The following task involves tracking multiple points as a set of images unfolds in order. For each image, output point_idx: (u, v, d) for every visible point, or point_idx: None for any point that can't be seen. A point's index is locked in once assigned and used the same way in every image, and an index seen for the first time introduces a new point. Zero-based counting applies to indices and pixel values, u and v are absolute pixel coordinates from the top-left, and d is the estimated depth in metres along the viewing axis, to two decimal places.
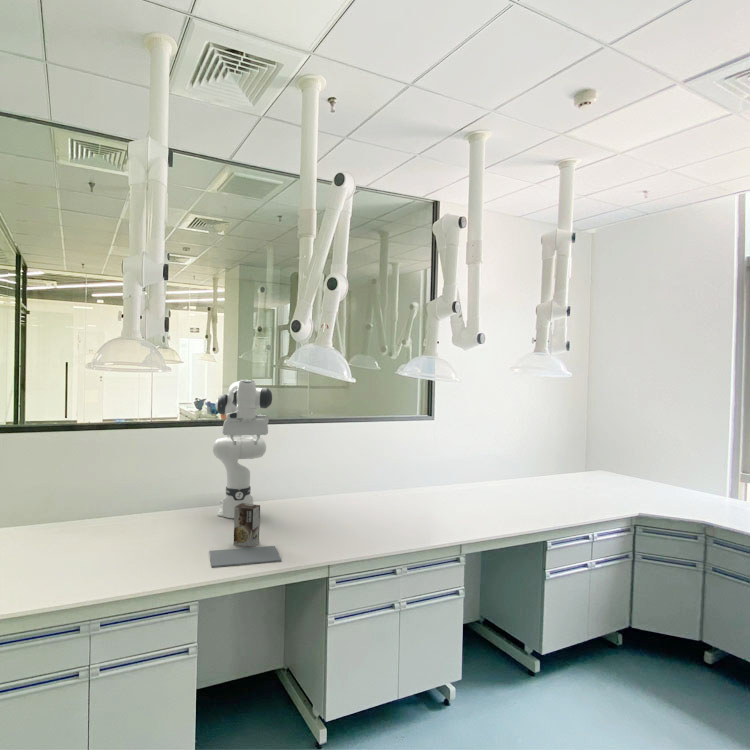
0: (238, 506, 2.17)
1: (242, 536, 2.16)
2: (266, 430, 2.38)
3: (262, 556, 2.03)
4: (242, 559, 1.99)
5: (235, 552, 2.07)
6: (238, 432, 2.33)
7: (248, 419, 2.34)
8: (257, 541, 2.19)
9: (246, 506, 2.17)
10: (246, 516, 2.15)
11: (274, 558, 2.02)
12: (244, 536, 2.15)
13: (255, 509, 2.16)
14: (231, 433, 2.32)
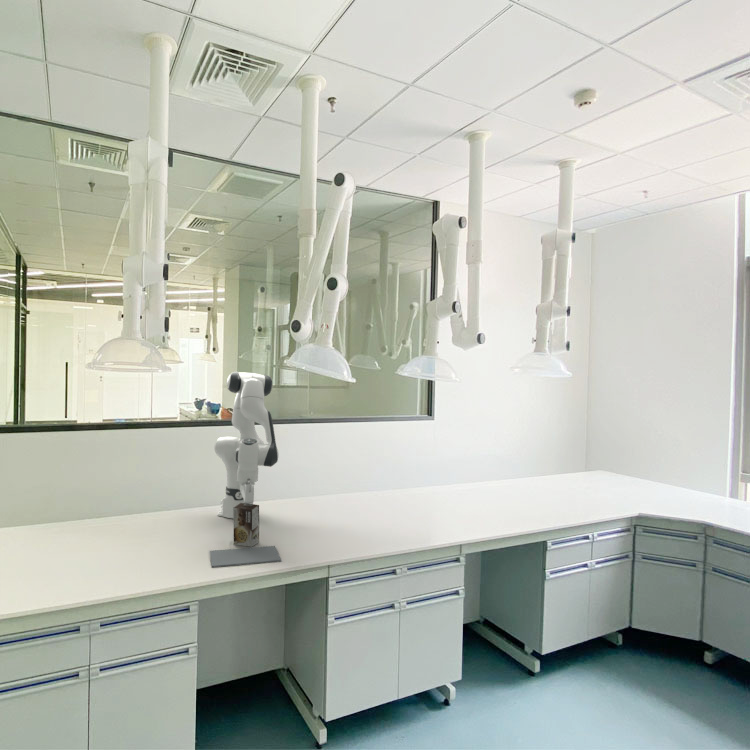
0: (237, 506, 2.16)
1: (241, 536, 2.15)
2: (245, 498, 2.14)
3: (262, 556, 2.03)
4: (242, 559, 1.99)
5: (235, 552, 2.07)
6: (241, 493, 2.26)
7: (240, 482, 2.21)
8: (257, 540, 2.19)
9: (245, 506, 2.17)
10: (245, 516, 2.14)
11: (274, 558, 2.02)
12: (244, 537, 2.15)
13: (254, 509, 2.15)
14: (241, 492, 2.29)
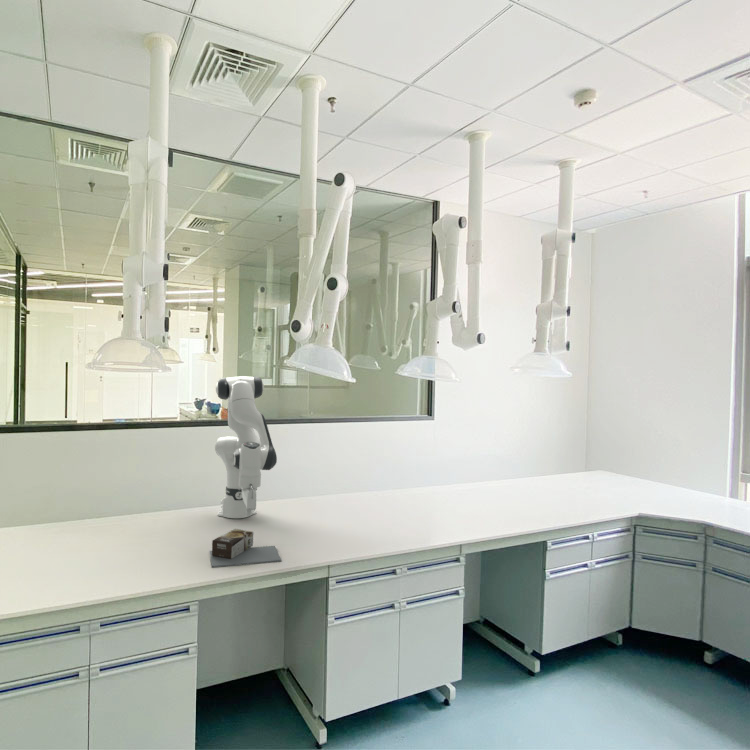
0: (214, 553, 2.01)
1: None
2: (246, 505, 2.05)
3: (262, 556, 2.03)
4: (242, 559, 1.99)
5: None
6: (243, 498, 2.16)
7: (242, 487, 2.12)
8: (252, 536, 2.13)
9: (221, 552, 2.00)
10: None
11: (274, 558, 2.02)
12: None
13: (232, 553, 1.99)
14: None
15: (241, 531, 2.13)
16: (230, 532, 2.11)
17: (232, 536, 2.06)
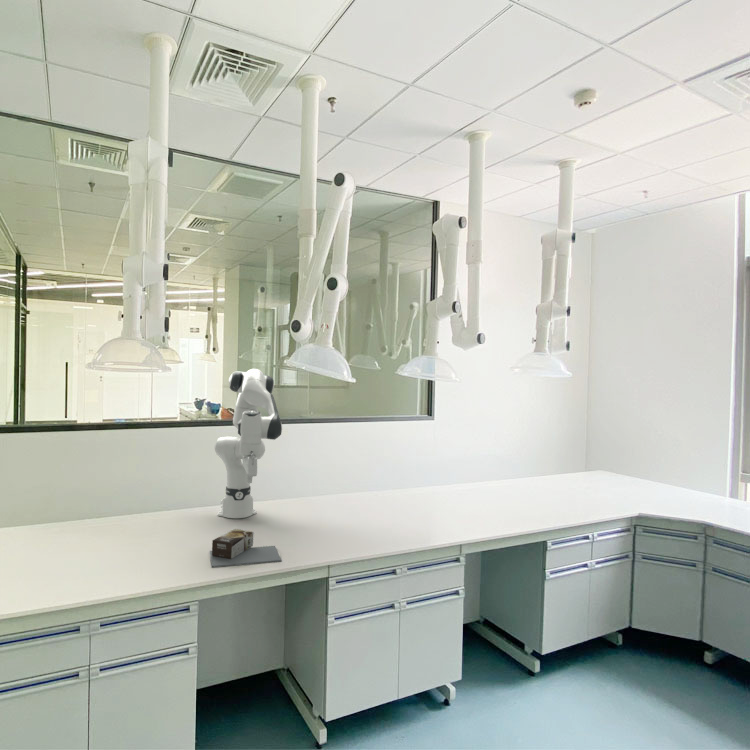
0: (214, 553, 2.01)
1: None
2: (247, 471, 2.06)
3: (262, 556, 2.03)
4: (242, 559, 1.99)
5: None
6: (244, 466, 2.18)
7: (243, 455, 2.13)
8: (252, 536, 2.13)
9: (221, 552, 2.00)
10: None
11: (274, 558, 2.02)
12: None
13: (232, 553, 1.99)
14: (243, 466, 2.21)
15: (241, 531, 2.13)
16: (230, 532, 2.11)
17: (232, 536, 2.06)
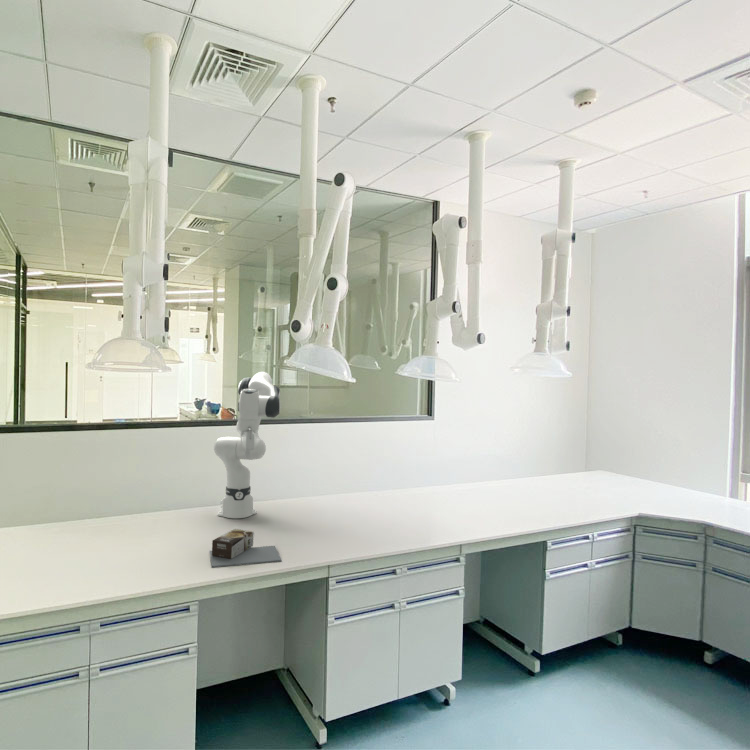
0: (214, 553, 2.01)
1: None
2: (245, 445, 2.17)
3: (262, 556, 2.03)
4: (242, 559, 1.99)
5: None
6: (242, 442, 2.29)
7: (241, 430, 2.24)
8: (252, 536, 2.13)
9: (221, 552, 2.00)
10: None
11: (274, 558, 2.02)
12: None
13: (232, 553, 1.99)
14: None
15: (241, 531, 2.13)
16: (230, 532, 2.11)
17: (232, 536, 2.06)
